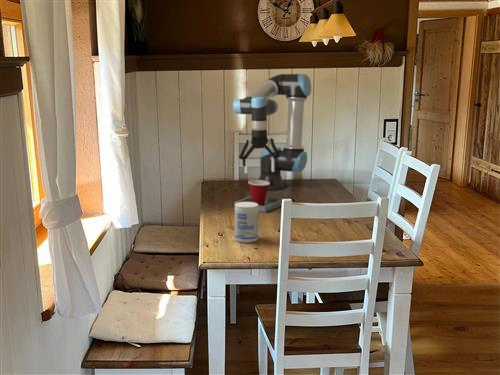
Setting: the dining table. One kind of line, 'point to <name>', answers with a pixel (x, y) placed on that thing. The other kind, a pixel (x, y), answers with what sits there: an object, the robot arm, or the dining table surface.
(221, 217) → the dining table surface
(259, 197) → the plastic cup
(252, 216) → the supplement tub
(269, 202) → the tray
